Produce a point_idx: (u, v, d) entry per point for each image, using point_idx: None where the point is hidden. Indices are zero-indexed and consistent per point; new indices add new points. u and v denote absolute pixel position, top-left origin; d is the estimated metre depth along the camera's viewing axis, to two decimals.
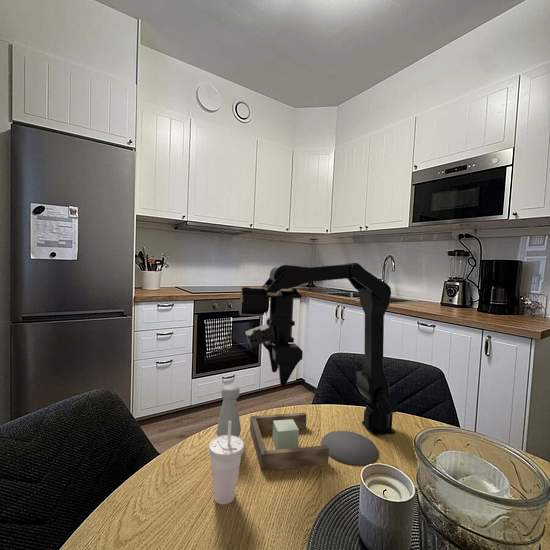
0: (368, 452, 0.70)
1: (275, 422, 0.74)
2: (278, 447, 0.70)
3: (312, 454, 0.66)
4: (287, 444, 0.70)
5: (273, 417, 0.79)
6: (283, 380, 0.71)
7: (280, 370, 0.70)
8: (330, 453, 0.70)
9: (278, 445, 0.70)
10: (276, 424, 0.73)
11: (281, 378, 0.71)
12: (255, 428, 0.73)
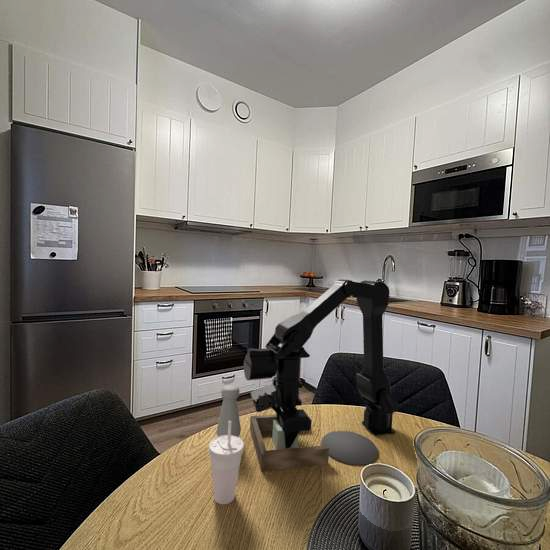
0: (368, 452, 0.70)
1: (275, 422, 0.74)
2: (278, 447, 0.70)
3: (312, 454, 0.66)
4: None
5: (273, 417, 0.79)
6: (288, 442, 0.70)
7: (285, 433, 0.69)
8: (330, 453, 0.70)
9: (278, 445, 0.70)
10: (276, 424, 0.73)
11: (286, 441, 0.69)
12: (255, 428, 0.73)
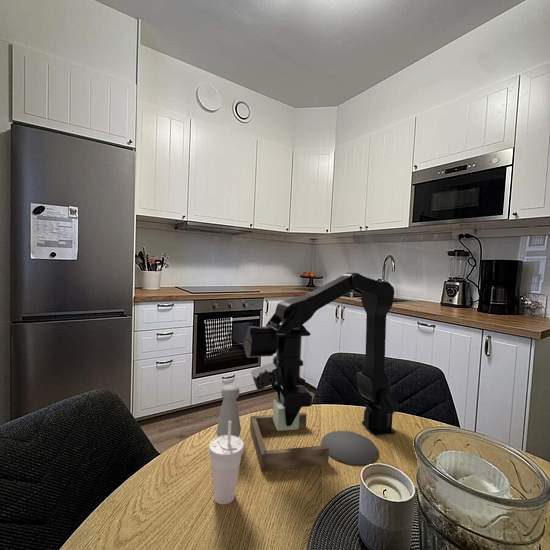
0: (368, 452, 0.70)
1: (276, 401, 0.74)
2: (279, 425, 0.70)
3: (312, 454, 0.66)
4: None
5: None
6: (289, 420, 0.70)
7: (286, 411, 0.68)
8: (330, 453, 0.70)
9: (279, 423, 0.70)
10: (277, 402, 0.73)
11: (287, 419, 0.69)
12: (255, 428, 0.73)
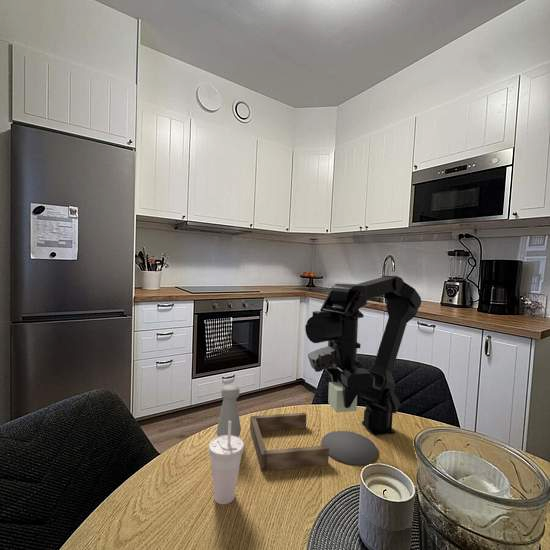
0: (368, 452, 0.70)
1: (331, 383, 0.74)
2: (337, 406, 0.70)
3: (312, 454, 0.66)
4: None
5: (273, 417, 0.79)
6: (348, 402, 0.70)
7: (345, 393, 0.69)
8: (330, 453, 0.70)
9: (337, 404, 0.70)
10: (333, 385, 0.73)
11: (346, 400, 0.70)
12: (255, 428, 0.73)
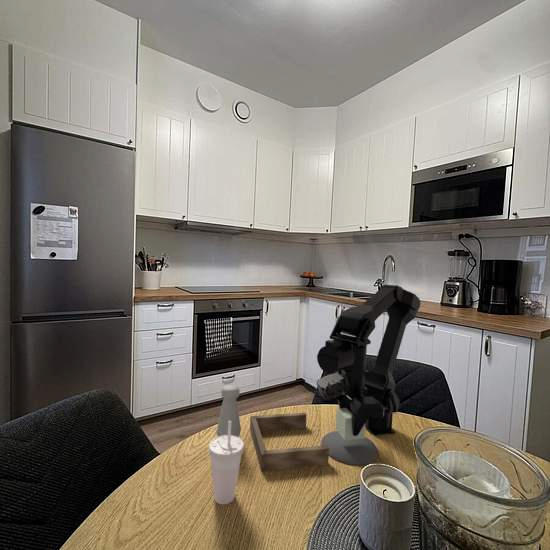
0: (368, 452, 0.70)
1: (339, 410, 0.74)
2: (346, 434, 0.70)
3: (312, 454, 0.66)
4: None
5: (273, 417, 0.79)
6: (356, 430, 0.70)
7: (354, 421, 0.69)
8: (330, 453, 0.70)
9: (346, 432, 0.70)
10: (341, 412, 0.73)
11: (354, 428, 0.70)
12: (255, 428, 0.73)
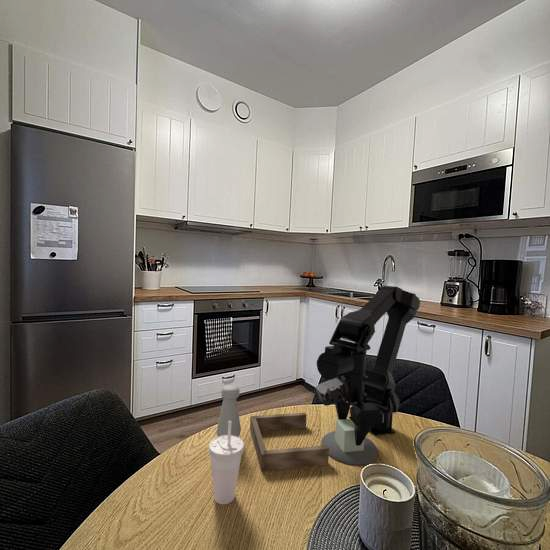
0: (368, 452, 0.70)
1: (338, 421, 0.74)
2: (345, 446, 0.70)
3: (312, 454, 0.66)
4: (353, 444, 0.71)
5: (273, 417, 0.79)
6: (359, 440, 0.69)
7: (357, 431, 0.67)
8: (330, 453, 0.70)
9: (345, 444, 0.70)
10: (340, 423, 0.73)
11: (357, 438, 0.68)
12: (255, 428, 0.73)
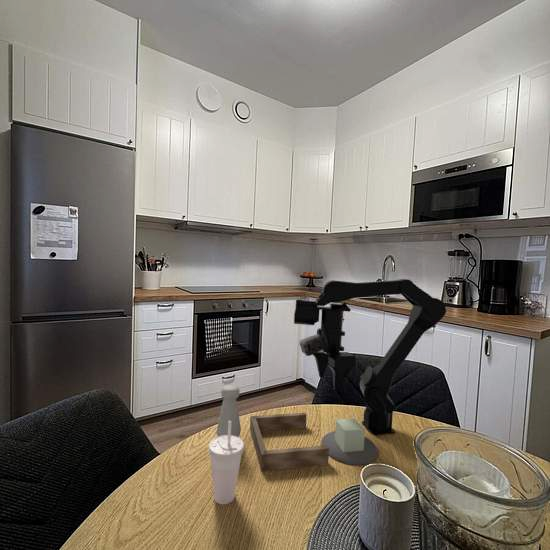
0: (368, 452, 0.70)
1: (338, 421, 0.74)
2: (345, 446, 0.70)
3: (312, 454, 0.66)
4: (353, 444, 0.71)
5: (273, 417, 0.79)
6: (337, 385, 0.79)
7: (335, 376, 0.78)
8: (330, 453, 0.70)
9: (345, 444, 0.70)
10: (340, 423, 0.73)
11: (335, 383, 0.79)
12: (255, 428, 0.73)
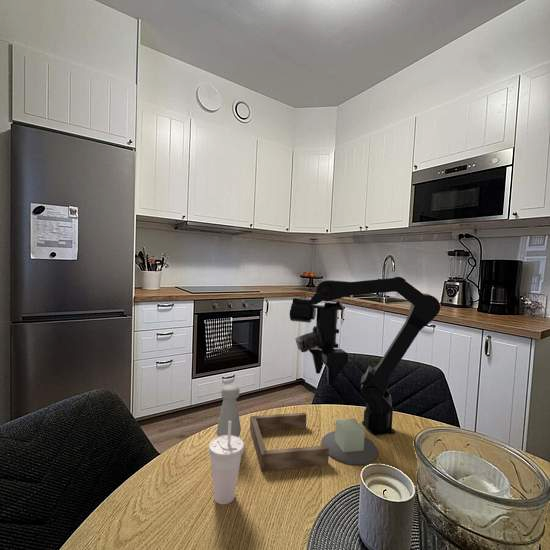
0: (368, 452, 0.70)
1: (338, 421, 0.74)
2: (345, 446, 0.70)
3: (312, 454, 0.66)
4: (353, 444, 0.71)
5: (273, 417, 0.79)
6: (331, 380, 0.82)
7: (329, 372, 0.81)
8: (330, 453, 0.70)
9: (345, 444, 0.70)
10: (340, 423, 0.73)
11: (329, 379, 0.82)
12: (255, 428, 0.73)
